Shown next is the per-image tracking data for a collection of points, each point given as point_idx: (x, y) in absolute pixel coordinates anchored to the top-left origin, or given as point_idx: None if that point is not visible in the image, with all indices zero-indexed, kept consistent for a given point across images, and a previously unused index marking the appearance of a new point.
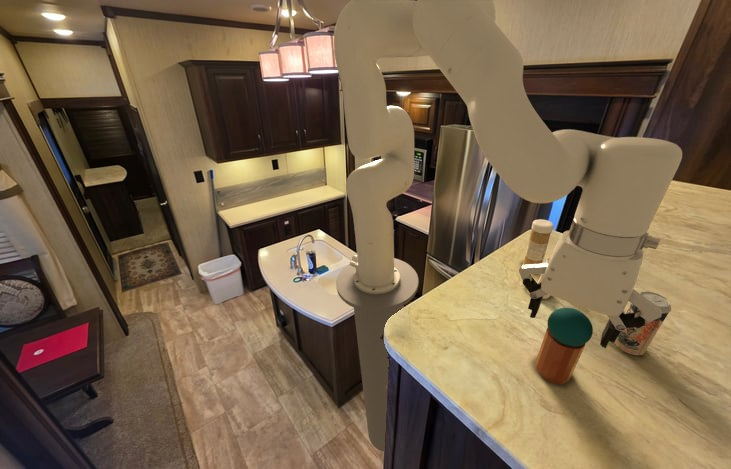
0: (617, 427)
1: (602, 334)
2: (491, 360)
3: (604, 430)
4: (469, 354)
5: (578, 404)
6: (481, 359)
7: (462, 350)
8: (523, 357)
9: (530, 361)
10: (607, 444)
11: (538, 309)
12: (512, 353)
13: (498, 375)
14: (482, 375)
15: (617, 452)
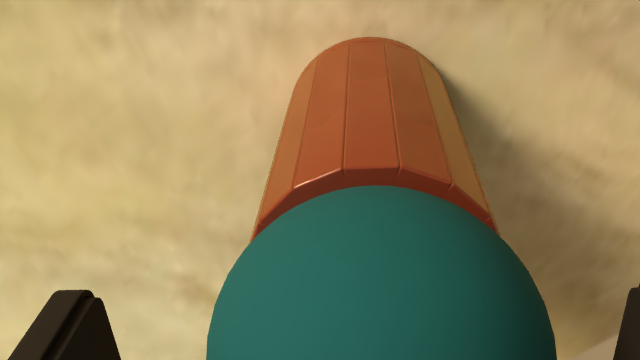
0: (634, 222)
1: (634, 338)
2: (137, 230)
3: (587, 260)
4: (53, 257)
5: (496, 215)
6: (104, 250)
7: (19, 257)
8: (234, 126)
9: (270, 128)
10: (593, 300)
11: (101, 331)
12: (183, 136)
13: (198, 276)
14: (154, 309)
15: (622, 306)
